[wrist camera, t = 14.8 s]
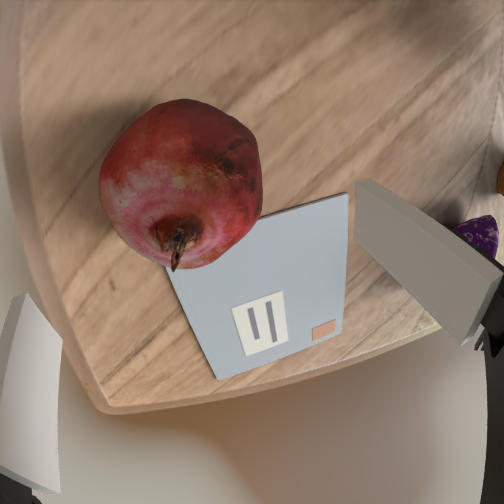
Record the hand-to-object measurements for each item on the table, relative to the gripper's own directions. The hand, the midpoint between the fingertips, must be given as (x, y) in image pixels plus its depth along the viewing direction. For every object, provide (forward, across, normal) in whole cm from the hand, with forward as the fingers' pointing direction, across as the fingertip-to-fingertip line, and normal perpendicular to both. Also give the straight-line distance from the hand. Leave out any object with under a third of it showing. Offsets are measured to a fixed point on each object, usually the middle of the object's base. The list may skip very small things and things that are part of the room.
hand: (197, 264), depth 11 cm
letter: (+11, +6, -15) cm, 20 cm away
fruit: (+12, +1, 0) cm, 12 cm away
